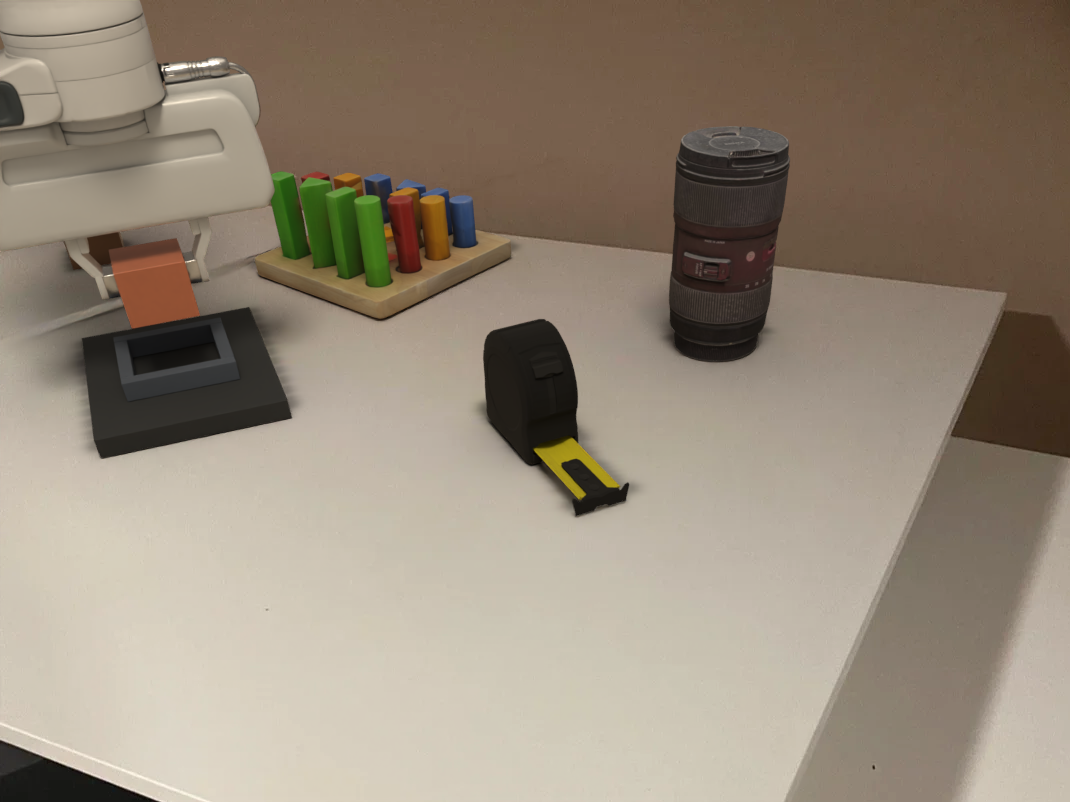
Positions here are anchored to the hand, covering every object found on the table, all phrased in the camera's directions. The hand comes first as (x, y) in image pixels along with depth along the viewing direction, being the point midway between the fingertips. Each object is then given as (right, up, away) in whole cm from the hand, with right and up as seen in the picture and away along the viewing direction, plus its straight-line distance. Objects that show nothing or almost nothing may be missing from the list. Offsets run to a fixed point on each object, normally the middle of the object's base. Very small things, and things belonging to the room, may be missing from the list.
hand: (155, 288), depth 75 cm
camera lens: (+43, -2, +7) cm, 44 cm away
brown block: (-14, +12, +23) cm, 30 cm away
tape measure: (+30, -14, -4) cm, 33 cm away
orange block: (0, -1, +1) cm, 2 cm away
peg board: (+14, +11, +21) cm, 27 cm away
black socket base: (0, -5, +5) cm, 8 cm away
